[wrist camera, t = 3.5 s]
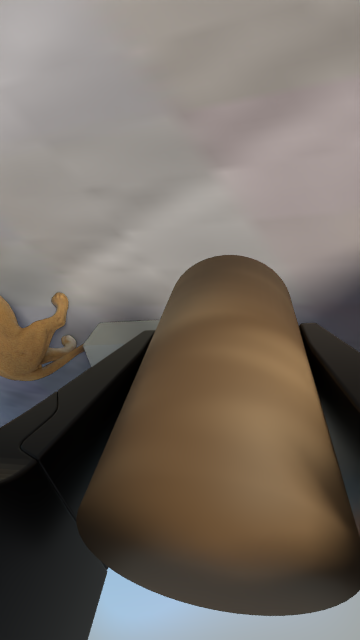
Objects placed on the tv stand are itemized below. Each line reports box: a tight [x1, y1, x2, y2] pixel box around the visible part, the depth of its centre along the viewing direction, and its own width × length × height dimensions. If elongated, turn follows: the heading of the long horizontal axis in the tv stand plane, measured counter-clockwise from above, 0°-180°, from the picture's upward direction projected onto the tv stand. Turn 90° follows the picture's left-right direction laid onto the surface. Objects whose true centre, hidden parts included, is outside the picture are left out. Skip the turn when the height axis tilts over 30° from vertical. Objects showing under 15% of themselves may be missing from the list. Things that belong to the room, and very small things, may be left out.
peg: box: [76, 255, 360, 616], centre depth 7 cm, size 4×4×7 cm
